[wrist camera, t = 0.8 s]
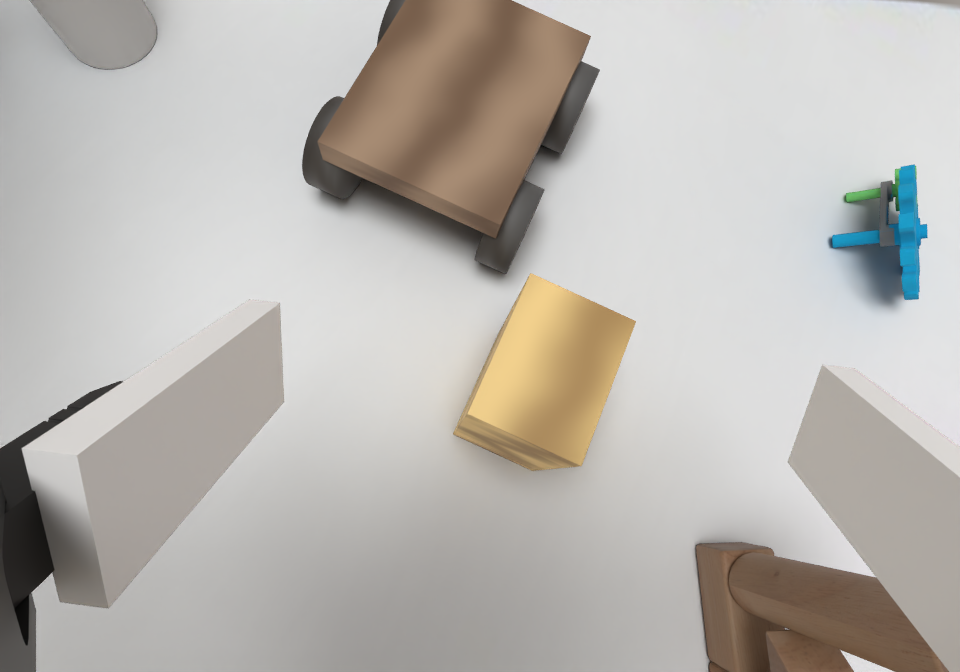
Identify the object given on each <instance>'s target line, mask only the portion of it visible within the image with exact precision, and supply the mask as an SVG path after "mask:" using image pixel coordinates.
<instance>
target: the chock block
mask: <svg viewBox="0 0 960 672" xmlns="http://www.w3.org/2000/svg"><path fill="white" fill-rule="evenodd" d="M635 323H636V321H634V320H632V319H630V318H628V317H625V316H623V315H621V314H619V313H617V312H614V311H612V310H610V309H608V308H606V307H604V306H601V305H599V304H597V303H595V302H593V301H590V300H588V299H586V298H584V297H582V296H579V295H577V294H575V293H573V292H571V291H569V290H566V289H564V288H562V287H560V286H558V285H555V284H553V283H551V282H549V281H547V280H545V279H542V278H540V277H538V276H536V275H534V274H531V273H530V275H529V277H528V279H527V281H526V283H525V285H524V286H523V288H522V290H521V292H520V294H519V296H518V298H517V300H516V301H515V303H514V305H513V307H512V309H511V311H510V313H509V315H508V316H507V318H506V320H505V322H504V324H503V326H502V328H501V330H500V331H499V333H498V336H497V338H496V340H495V342H494V344H493V347H492V349H491V351H490V353H489V356H488V358H487V360H486V362H485V364H484V367H483V369H482V371H481V373H480V375H479V378H478V380H477V382H476V384H475V386H474V389H473V391H472V393H471V395H470V397H469V400H468V402H467V404H466V406H465V409H464V411H463V413H462V415H461V417H460V420H459V422H458V424H457V426H456V428H455V431H454V433H453V434H454V435H456V436H458V437H460V438H462V439H465V440H467V441H469V442H471V443H473V444H476V445H478V446H480V447H482V448H484V449H486V450H489V451H491V452H493V453H495V454H497V455H499V456H502V457H504V458H506V459H508V460H510V461H512V462H515V463H517V464H519V465H521V466H523V467H525V468H528V469H530V470H532V471H534V470H545V469H556V468H567V467H578V466H582V463H583V461H584V458H585V455H586V453H587V450H588V447H589V445H590V442H591V439H592V437H593V434H594V431H595V429H596V426H597V423H598V421H599V418H600V416H601V413H602V410H603V408H604V405H605V402H606V400H607V397H608V394H609V392H610V389H611V386H612V384H613V381H614V378H615V376H616V373H617V370H618V368H619V365H620V363H621V360H622V357H623V355H624V352H625V349H626V347H627V344H628V341H629V339H630V336H631V333H632V331H633V328H634V325H635Z"/></svg>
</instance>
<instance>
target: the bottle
mask: <svg viewBox="0 0 960 672" xmlns="http://www.w3.org/2000/svg"><path fill="white" fill-rule="evenodd" d="M30 2H31V3H32V4H33V5H34V7H35V8H36V9H37V10H38V12H39V13H40V14H41V15H42V17H43V18H44V19H45V20H46V22H47V23H48V24H49V25H50V26H51V28H52V29H53V30H54V31H55V33H56V34H57V35H58V36H59V37H60V39H61V40H62V41H63V42H64V44H65V45H66V46H67V47H68V49H69V50H70V51H71V52H72V53H73V54H74V56H75V57H76V58H77V59H78V60H80V61H81V62H83V63H85V64H87V65H89V66H92V67H95V68H100V69H117V68H124V67H127V66H130V65H131V64H134V63H136V62H138V61H140V60H141V59H142V58H143V57H145V56H146V55H147V54H148V53H149V52H150V51H151V49H152V47H153V46H154V44H155V41H156V37H157V26H156V24H155V21H154V19H153V17H152V15H151V13H150V12H149V10H148V8H147V7H146V5H145V3H144V1H143V0H30Z"/></svg>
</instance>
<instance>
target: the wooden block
mask: <svg viewBox="0 0 960 672" xmlns="http://www.w3.org/2000/svg"><path fill="white" fill-rule="evenodd" d="M696 552H697V561H698V570H699V579H700V588H701V597H702V606H703V615H704V623H705V632H706V641H707V650H708V657H709V659H710V660H711V661H712V662H711V663H710V665H709V670H710V672H854V671H853V669H852V668H851V666H850V665H849V663H848V662H847V660H846V659H845V657H844V656H843V654H842V653H841V651H840V650H842V651H845V652H847V653H850V654H852V655H855V656H857V657H860V658H862V659H865V660H867V661H870V662H872V663H875V664H877V665H880V666H882V667H885V668H887V669H890V670H892V671H895V672H949V671H948V670H947V668H946V667H945V666H944V664H943V663H942V662H941V660H940V659H939V658H938V657H937V655H936V654H935V653H934V651H933V650H932V649H931V647H930V646H929V645H928V644H927V642H926V641H925V640H924V638H923V637H922V636H921V635H920V633H919V632H918V631H917V629H916V628H915V627H914V625H913V624H912V623H911V622H910V620H909V619H908V618H907V616H906V615H905V614H904V613H903V611H902V610H901V609H900V607H899V606H898V605H897V603H896V602H895V601H894V600H893V598H892V597H891V596H890V594H889V593H888V592H887V590H886V589H885V588H884V587H883V585H882V584H881V583H880V581H879V580H878V579H877V578H875V577H871V576H866V575H861V574H856V573H852V572H847V571H842V570H837V569H833V568H828V567H823V566H819V565H814V564H809V563H804V562H800V561H795V560H790V559H785V558H781V557H776V556H774V552H773V550H772V549H771V548H768V547H764V546H759V545H753V544H748V543H743V542H735V543H707V544H699V545H697V546H696ZM785 628H787V629H790V630H785Z"/></svg>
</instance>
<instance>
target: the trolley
mask: <svg viewBox="0 0 960 672" xmlns="http://www.w3.org/2000/svg"><path fill="white" fill-rule="evenodd" d="M590 37H591V36H589V35H587V34H585V33H583V32H580V31H578V30H576V29H574V28H572V27H569V26H567V25H565V24H563V23H560V22H558V21H556V20H554V19H552V18H549V17H547V16H545V15H543V14H541V13H538V12H536V11H534V10H532V9H529V8H527V7H525V6H523V5H521V4H518V3H516V2H514V1H512V0H390V2H389V4H388V6H387V9H386V11H385V14H384V17H383V20H382V23H381V27H380V31H379V36H378V42H377V47H376V48H375V50H374V52H373V53H372V55H371V56H370V58H369V60H368V61H367V63H366V64H365V66H364V68H363V69H362V71H361V73H360V74H359V76H358V77H357V79H356V81H355V82H354V84H353V85H352V87H351V89H350V90H349V92H348V93H347V95H346V97H345V98H342V97H334V98H332V99H330V100H329V101H328V102H327V103H326V104H325V105H324V106H323V107H322V109H321V110H320V112H319V113H318V115H317V116H316V118H315V120H314V122H313V124H312V126H311V129H310V131H309V134H308V137H307V140H306V144H305V148H304V153H303V162H302V169H303V176H304V179H305V181H306V182H307V183H308V184H309V185H312V186H314V187H316V188H318V189H320V190H323V191H325V192H327V193H329V194H331V195H333V196H336V197H338V198H340V199H344V198H347V197H348V196H350V195H351V194H352V193H353V192H354V191H355V189H356V188H357V187H358V185H359V184H360V182H361V180H362V179H363V178H364V179H366V180H368V181H371V182H373V183H375V184H377V185H379V186H382V187H384V188H386V189H388V190H390V191H393V192H395V193H397V194H399V195H401V196H403V197H406V198H408V199H410V200H412V201H414V202H417V203H419V204H421V205H423V206H425V207H428V208H430V209H432V210H434V211H436V212H438V213H441V214H443V215H445V216H447V217H449V218H452V219H454V220H456V221H458V222H460V223H463V224H465V225H467V226H469V227H471V228H474V229H476V230H478V231H480V232H482V233H483V236H482V238H481V241H480V244H479V246H478V249H477V252H476V256H475V260H476V261H478V262H480V263H482V264H484V265H487V266H489V267H491V268H493V269H495V270H497V271H500V272H502V273H504V274H506V273H507V271H508V269H509V267H510V265H511V263H512V261H513V259H514V256H515V254H516V252H517V250H518V248H519V246H520V243H521V241H522V239H523V237H524V235H525V233H526V230H527V228H528V226H529V224H530V221H531V219H532V217H533V215H534V213H535V210H536V208H537V206H538V204H539V201H540V199H541V197H542V194H543V192H544V189H542V188H540V187H538V186H536V185H533V184H531V183H529V182H527V181H525V180H524V179H525V177H526V175H527V173H528V171H529V169H530V166H531V164H532V162H533V160H534V158H535V156H536V154H537V152H538V150H539V148H540V146H541V145H543V146H545V147H547V148H549V149H551V150H554V151H556V152H558V153H560V154H562V153H563V151H564V149H565V146H566V144H567V142H568V140H569V138H570V136H571V134H572V131H573V129H574V127H575V125H576V123H577V120H578V118H579V116H580V114H581V112H582V109H583V107H584V105H585V103H586V100H587V98H588V96H589V94H590V92H591V89H592V87H593V85H594V82H595V80H596V78H597V76H598V73H599V71H600V70H599V69H597V68H595V67H593V66H590V65H588V64H586V63H584V62H582V61H581V60H582V58H583V56H584V53H585V50H586V48H587V45H588V43H589V40H590Z"/></svg>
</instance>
